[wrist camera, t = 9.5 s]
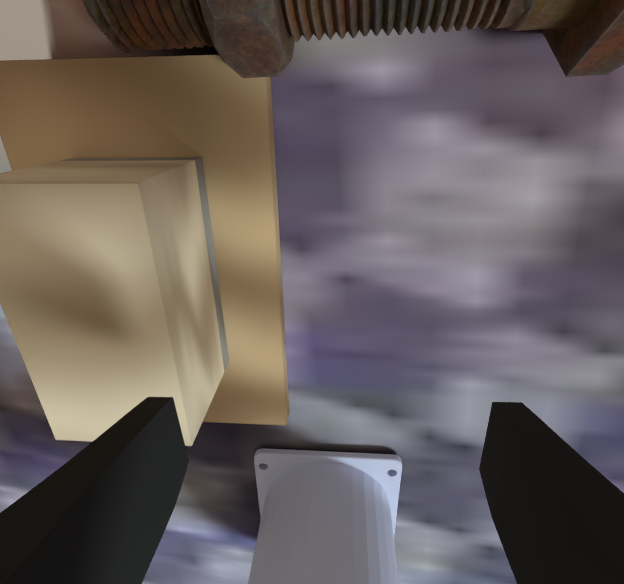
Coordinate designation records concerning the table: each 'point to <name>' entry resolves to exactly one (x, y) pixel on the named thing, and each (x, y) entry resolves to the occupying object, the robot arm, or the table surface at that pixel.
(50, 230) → the block
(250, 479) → the table surface
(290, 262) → the table surface
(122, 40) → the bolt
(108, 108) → the board
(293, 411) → the table surface
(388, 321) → the table surface
